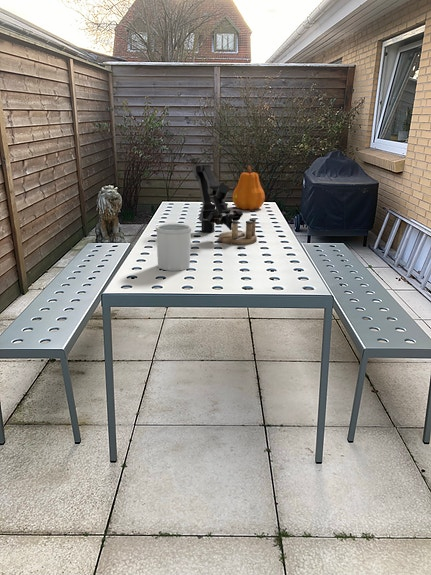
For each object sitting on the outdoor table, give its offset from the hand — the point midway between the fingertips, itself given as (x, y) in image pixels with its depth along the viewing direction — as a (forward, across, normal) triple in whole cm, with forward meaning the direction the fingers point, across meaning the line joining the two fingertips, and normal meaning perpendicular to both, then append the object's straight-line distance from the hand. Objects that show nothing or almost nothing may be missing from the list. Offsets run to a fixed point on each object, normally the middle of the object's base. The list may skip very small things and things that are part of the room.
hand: (231, 229), depth 237 cm
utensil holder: (+21, +43, +8) cm, 48 cm away
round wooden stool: (+2, -8, -8) cm, 11 cm away
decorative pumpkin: (-54, -68, -60) cm, 105 cm away
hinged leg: (+2, -5, -4) cm, 7 cm away
